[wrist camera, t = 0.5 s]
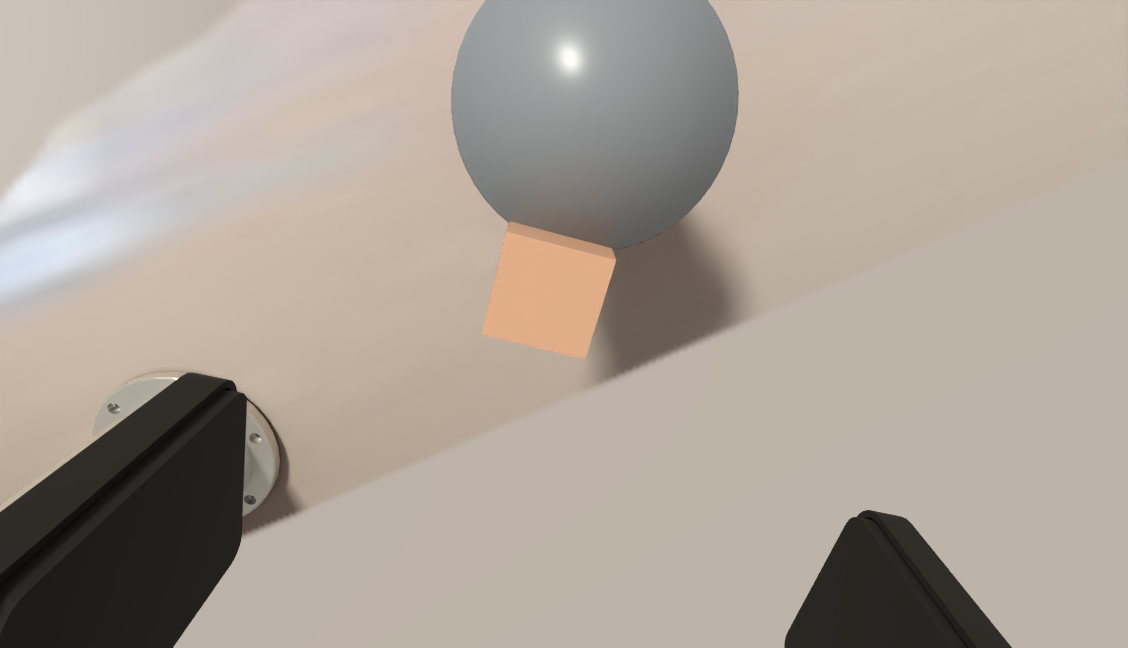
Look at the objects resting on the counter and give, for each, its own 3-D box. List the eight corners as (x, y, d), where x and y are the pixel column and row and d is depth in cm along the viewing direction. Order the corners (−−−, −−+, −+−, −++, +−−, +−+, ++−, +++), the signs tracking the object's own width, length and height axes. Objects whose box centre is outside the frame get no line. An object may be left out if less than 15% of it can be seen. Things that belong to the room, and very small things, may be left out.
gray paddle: (488, -92, 18) (478, -119, 16) (775, 1, 20) (805, -11, 17) (416, 292, 23) (401, 314, 21) (650, 350, 24) (660, 377, 22)
